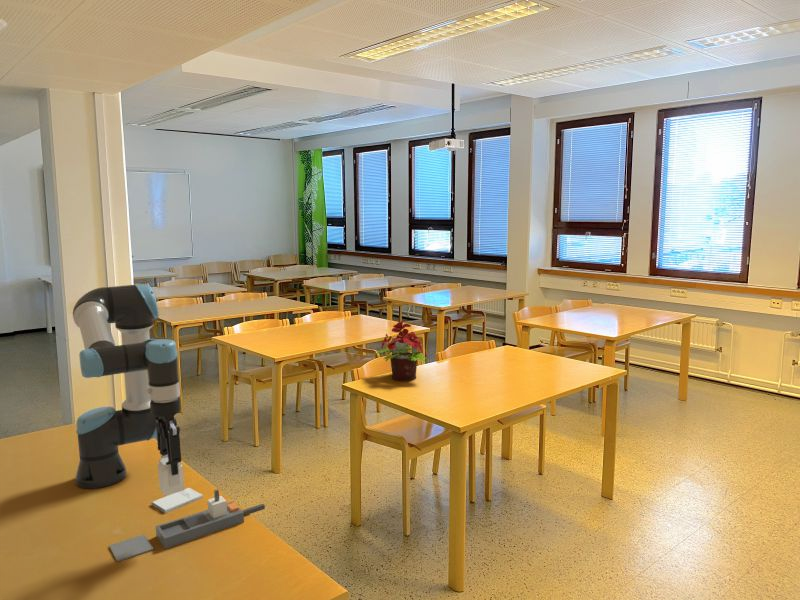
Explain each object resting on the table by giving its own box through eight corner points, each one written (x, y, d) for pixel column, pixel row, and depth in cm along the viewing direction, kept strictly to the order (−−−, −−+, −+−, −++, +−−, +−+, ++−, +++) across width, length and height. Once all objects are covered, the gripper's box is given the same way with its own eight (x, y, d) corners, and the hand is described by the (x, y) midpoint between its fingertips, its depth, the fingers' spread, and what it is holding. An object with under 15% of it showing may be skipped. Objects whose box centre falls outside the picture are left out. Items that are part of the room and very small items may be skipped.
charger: (159, 488, 165) (157, 459, 164) (178, 483, 168) (176, 454, 167) (165, 495, 161) (162, 465, 160) (184, 490, 164) (182, 460, 163)
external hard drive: (151, 506, 185) (188, 491, 194) (165, 515, 180) (202, 499, 189) (151, 501, 185) (188, 486, 194) (165, 509, 180) (202, 494, 189)
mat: (109, 546, 162) (109, 545, 162) (144, 535, 168) (144, 534, 168) (117, 562, 155) (117, 560, 155) (153, 549, 161) (153, 548, 161)
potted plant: (429, 371, 327) (428, 316, 323) (426, 386, 301) (425, 327, 296) (374, 371, 330) (373, 316, 325) (367, 385, 304) (366, 326, 299)
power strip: (165, 549, 161) (162, 513, 159) (156, 536, 167) (153, 502, 166) (269, 513, 179) (268, 481, 177) (258, 503, 185) (256, 472, 184)
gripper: (140, 392, 165) (147, 473, 169) (160, 410, 151) (167, 498, 155) (169, 387, 170) (174, 466, 174) (190, 404, 155) (196, 489, 159)
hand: (171, 481), depth 164 cm, fingers closed on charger, 5 cm apart
